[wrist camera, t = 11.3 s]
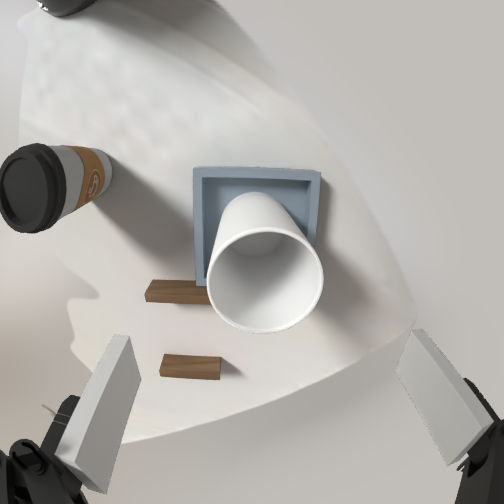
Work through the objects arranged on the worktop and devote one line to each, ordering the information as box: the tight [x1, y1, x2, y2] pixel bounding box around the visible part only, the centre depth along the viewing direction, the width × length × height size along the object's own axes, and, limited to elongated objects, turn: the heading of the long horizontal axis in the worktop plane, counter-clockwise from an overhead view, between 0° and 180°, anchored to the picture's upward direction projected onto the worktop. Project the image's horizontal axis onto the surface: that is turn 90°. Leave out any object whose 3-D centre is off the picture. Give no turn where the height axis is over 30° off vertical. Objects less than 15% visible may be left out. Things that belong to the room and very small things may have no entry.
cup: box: [207, 192, 324, 334], centre depth 27 cm, size 8×8×16 cm
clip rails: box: [145, 280, 221, 380], centre depth 38 cm, size 14×9×4 cm, turn 178°
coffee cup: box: [0, 143, 112, 233], centre depth 25 cm, size 8×8×15 cm
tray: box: [193, 167, 321, 286], centre depth 34 cm, size 14×14×3 cm
